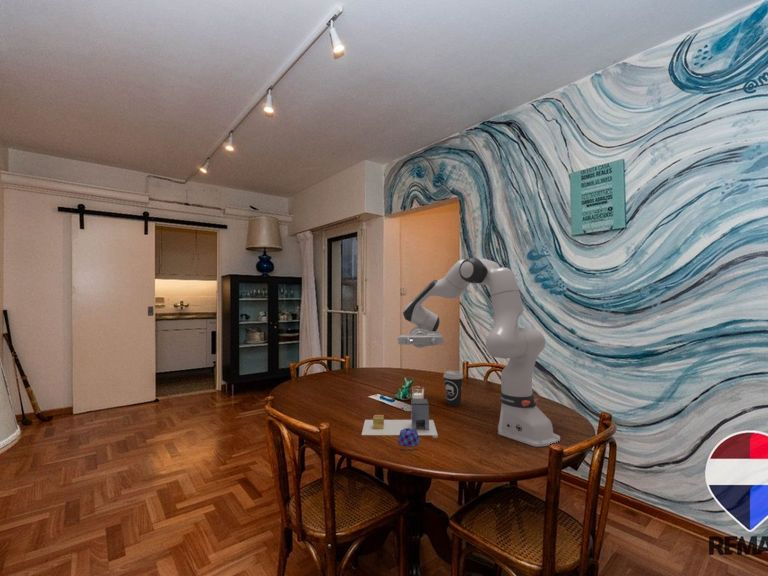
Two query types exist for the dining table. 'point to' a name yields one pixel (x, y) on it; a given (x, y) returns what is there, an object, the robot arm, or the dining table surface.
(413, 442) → the pudding
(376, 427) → the block
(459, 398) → the coffee cup
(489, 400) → the dining table surface
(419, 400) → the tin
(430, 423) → the placemat
